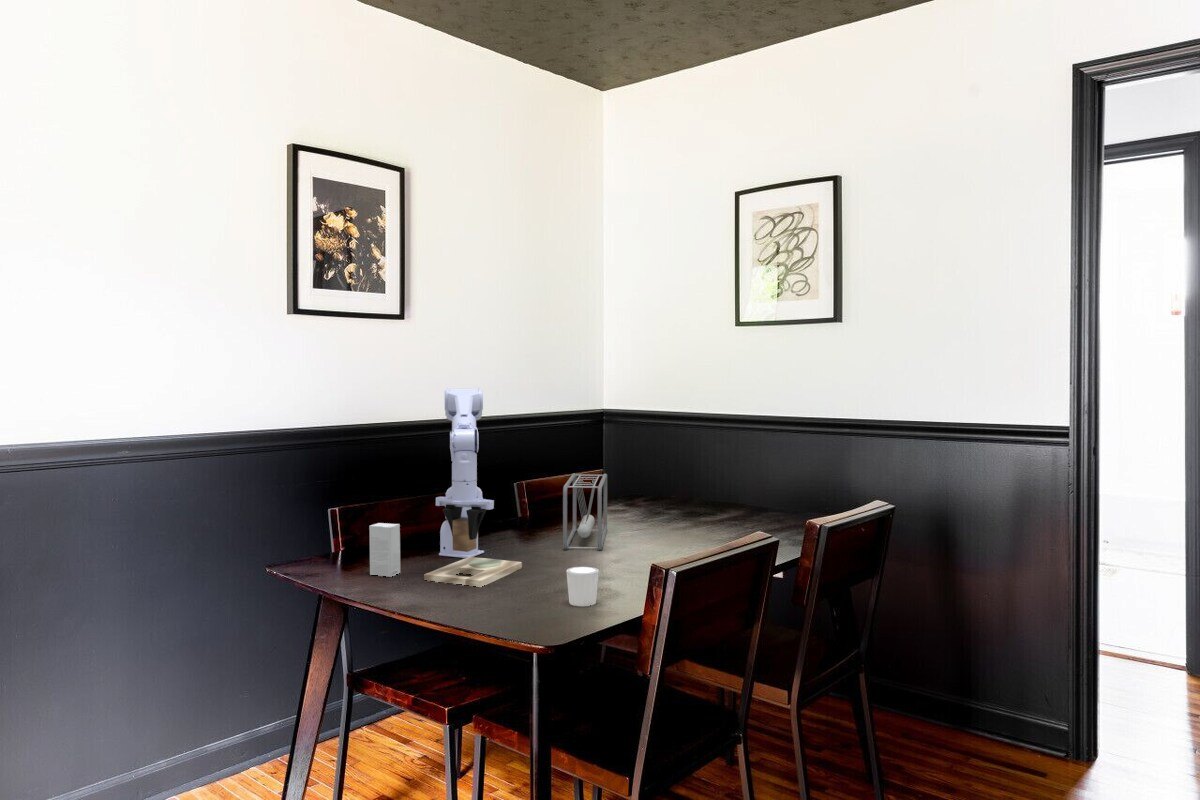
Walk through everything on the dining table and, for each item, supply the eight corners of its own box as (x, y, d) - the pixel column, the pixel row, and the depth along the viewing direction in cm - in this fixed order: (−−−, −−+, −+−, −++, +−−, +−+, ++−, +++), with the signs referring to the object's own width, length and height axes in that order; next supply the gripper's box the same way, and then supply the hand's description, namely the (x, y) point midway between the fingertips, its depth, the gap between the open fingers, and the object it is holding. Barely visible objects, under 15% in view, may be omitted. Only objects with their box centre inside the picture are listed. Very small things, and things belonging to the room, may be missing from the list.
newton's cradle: (572, 530, 259) (573, 472, 259) (607, 530, 259) (607, 472, 258) (562, 551, 229) (562, 485, 229) (601, 552, 229) (601, 486, 228)
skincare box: (401, 573, 204) (400, 523, 203) (391, 577, 200) (390, 527, 199) (379, 571, 206) (378, 522, 205) (368, 575, 202) (368, 525, 201)
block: (452, 550, 198) (452, 520, 198) (461, 547, 202) (461, 517, 201) (467, 551, 196) (467, 521, 196) (476, 548, 200) (476, 518, 200)
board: (424, 580, 197) (424, 573, 197) (469, 562, 215) (469, 556, 215) (480, 587, 191) (480, 579, 191) (521, 568, 210) (521, 561, 210)
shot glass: (565, 598, 182) (565, 566, 182) (597, 598, 183) (597, 565, 183) (567, 607, 175) (567, 573, 175) (600, 606, 176) (600, 573, 176)
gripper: (428, 480, 197) (428, 538, 198) (482, 484, 192) (483, 543, 192) (444, 477, 204) (445, 533, 204) (498, 480, 198) (498, 538, 199)
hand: (464, 538), depth 199 cm, fingers closed on block, 4 cm apart
